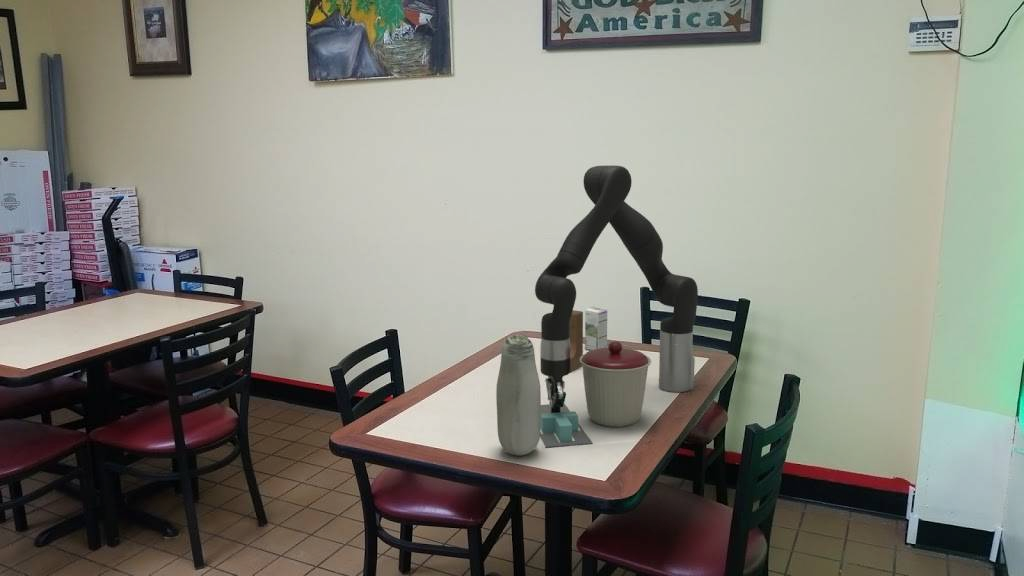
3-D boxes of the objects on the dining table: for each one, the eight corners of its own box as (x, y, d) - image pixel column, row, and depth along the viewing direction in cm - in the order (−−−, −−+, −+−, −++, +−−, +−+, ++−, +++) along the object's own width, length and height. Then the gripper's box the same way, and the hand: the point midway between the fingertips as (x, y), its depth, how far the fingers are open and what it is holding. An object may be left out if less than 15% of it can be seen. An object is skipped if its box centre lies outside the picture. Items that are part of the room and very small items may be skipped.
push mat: (564, 404, 206) (564, 403, 206) (592, 444, 179) (592, 442, 179) (523, 407, 204) (523, 406, 204) (545, 448, 177) (545, 446, 177)
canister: (663, 419, 194) (665, 341, 190) (621, 439, 181) (622, 356, 177) (607, 403, 206) (608, 329, 202) (565, 421, 194) (564, 342, 190)
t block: (575, 426, 189) (575, 411, 188) (584, 440, 180) (584, 424, 179) (540, 428, 188) (540, 413, 187) (547, 442, 179) (547, 427, 178)
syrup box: (607, 349, 259) (608, 308, 256) (597, 352, 255) (597, 311, 252) (594, 346, 263) (595, 306, 260) (584, 349, 259) (584, 309, 256)
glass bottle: (543, 460, 170) (542, 341, 165) (498, 462, 169) (496, 343, 164) (538, 443, 180) (537, 330, 174) (496, 444, 179) (493, 331, 174)
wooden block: (570, 373, 233) (570, 317, 230) (557, 370, 236) (557, 315, 232) (583, 365, 241) (583, 311, 237) (570, 363, 243) (570, 309, 240)
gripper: (576, 361, 181) (576, 428, 184) (563, 346, 194) (563, 409, 197) (546, 363, 180) (546, 431, 183) (535, 348, 192) (535, 411, 196)
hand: (555, 419), depth 190 cm, fingers closed
